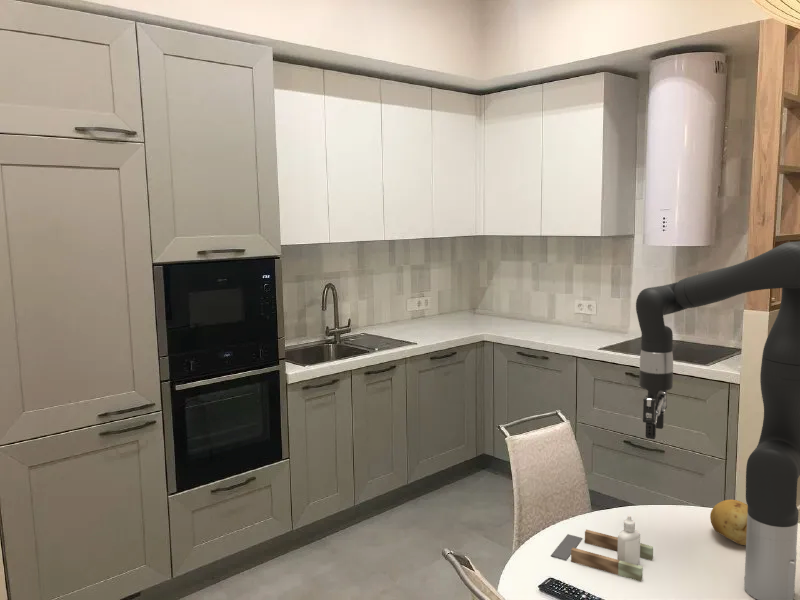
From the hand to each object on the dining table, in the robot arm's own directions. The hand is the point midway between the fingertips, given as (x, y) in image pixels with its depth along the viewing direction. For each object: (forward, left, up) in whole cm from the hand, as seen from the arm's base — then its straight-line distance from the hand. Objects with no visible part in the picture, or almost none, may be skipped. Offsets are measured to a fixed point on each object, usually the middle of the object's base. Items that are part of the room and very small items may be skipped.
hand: (654, 433), depth 154 cm
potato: (-17, -11, -28) cm, 35 cm away
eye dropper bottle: (+2, +14, -28) cm, 32 cm away
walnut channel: (+6, +14, -28) cm, 32 cm away
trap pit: (+17, +14, -28) cm, 36 cm away
